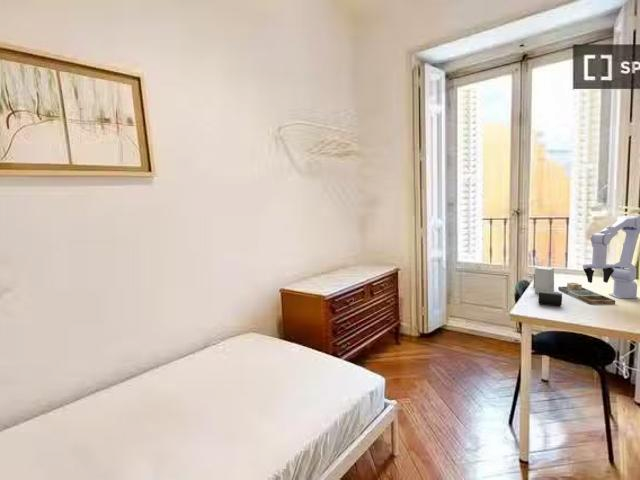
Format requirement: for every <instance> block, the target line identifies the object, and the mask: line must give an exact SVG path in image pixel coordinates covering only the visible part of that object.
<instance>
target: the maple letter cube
mask: <svg viewBox="0 0 640 480" xmlns="http://www.w3.org/2000/svg"><path fill="white" fill-rule="evenodd" d="M566 283H567V284H566V287H567V290H581V288H582V287H583V285H582V284H581V283H579V282H566Z"/></svg>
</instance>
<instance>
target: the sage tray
mask: <svg viewBox="0 0 640 480" xmlns="http://www.w3.org/2000/svg"><path fill="white" fill-rule="evenodd" d="M567 295H568V296H571V297H573V298H575V299H577V300H579V296H603V295H602V294H600V293H598V292H595V291H592V290H590V291H568V294H567Z"/></svg>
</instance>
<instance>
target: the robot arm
mask: <svg viewBox="0 0 640 480" xmlns="http://www.w3.org/2000/svg"><path fill="white" fill-rule="evenodd" d="M620 230H621V231H623V232H624V233H625V237H624V241H623V246H622V250H621V254H620V258H619V262H617V263H614V264H610V263H609V264H608V263H607V253H608V245H610V243H611V240H612V239H613V238H614V237H615V236H617V235H618V233H619V232H618V231H620ZM639 234H640V215H623V214H622V215H620V214H619V216H618V217H617V218H616V222H615V223H613V224H612V225H607V226H606V227H605V228H603V229H602V230H600V231H599V232H595V233H593V234H592V235H591V237H590V242H591V246H592V247H591V248H592V261H591V263H587V264H582V269H583V271H584V274H585V275H586V278H587V283H590V284H592V282H593V277H594V273H595V270H594V269H597V270H598V269H599V270H600V269H602V272H603V277H602V278H603V279H602V281H603V283H608V282H609V280H610V278H611V279H612V280H613V291H612V292H613V293H608V295H610V296H612V297H615V298H617V299H638V298H639V297H638V296H637V295H638V293H637V292H638V284H637V282H636V281H635V280H636V279H637V275H638V274H637V267H636V266H635V265H634V264H632V263H633V260H634V254H635V250H636V247H637V243H638V238H639Z"/></svg>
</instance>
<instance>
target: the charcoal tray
mask: <svg viewBox="0 0 640 480" xmlns="http://www.w3.org/2000/svg"><path fill="white" fill-rule="evenodd" d="M558 291H559V292H562V293H564V294H566V295H568V291H591V290H590V289H587V288H586V287H583V286H582V288H581V290H567V286H558Z"/></svg>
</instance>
